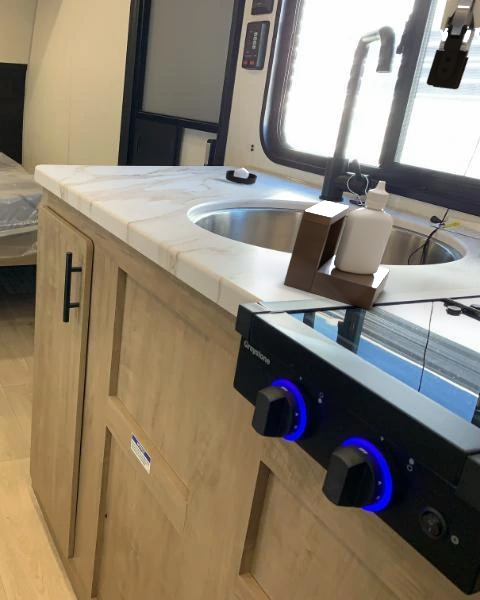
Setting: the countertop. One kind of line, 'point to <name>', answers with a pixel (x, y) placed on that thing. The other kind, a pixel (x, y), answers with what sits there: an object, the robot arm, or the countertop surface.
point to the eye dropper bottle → (365, 235)
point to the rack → (329, 260)
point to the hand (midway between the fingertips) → (442, 87)
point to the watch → (241, 176)
